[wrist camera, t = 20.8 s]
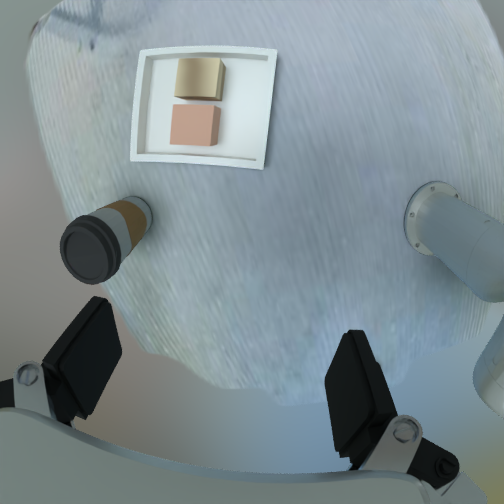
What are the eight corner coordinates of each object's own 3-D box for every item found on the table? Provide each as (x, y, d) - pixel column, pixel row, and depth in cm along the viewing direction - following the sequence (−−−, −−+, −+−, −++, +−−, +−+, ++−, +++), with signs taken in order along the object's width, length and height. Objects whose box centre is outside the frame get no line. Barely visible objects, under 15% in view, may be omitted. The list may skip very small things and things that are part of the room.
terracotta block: (221, 108, 32) (214, 105, 28) (217, 144, 35) (210, 146, 30) (184, 107, 32) (173, 104, 28) (181, 142, 35) (169, 144, 30)
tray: (276, 56, 30) (277, 49, 26) (263, 166, 36) (263, 169, 33) (150, 55, 30) (140, 50, 26) (140, 158, 36) (130, 161, 33)
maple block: (226, 67, 30) (220, 58, 25) (221, 101, 32) (215, 96, 28) (189, 66, 30) (178, 58, 25) (185, 100, 32) (173, 96, 27)
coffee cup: (108, 194, 39) (48, 227, 25) (153, 185, 38) (99, 216, 24) (120, 242, 42) (70, 289, 29) (164, 237, 41) (122, 287, 28)
